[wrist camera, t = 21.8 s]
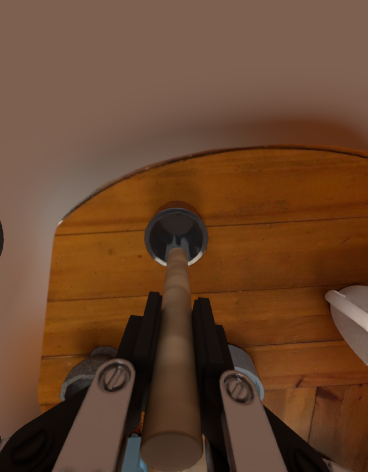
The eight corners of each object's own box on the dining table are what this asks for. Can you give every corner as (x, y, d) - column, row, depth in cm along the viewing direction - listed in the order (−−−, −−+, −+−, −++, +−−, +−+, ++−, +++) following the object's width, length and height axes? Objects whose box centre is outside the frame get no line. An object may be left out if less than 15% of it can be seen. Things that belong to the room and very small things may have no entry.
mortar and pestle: (70, 362, 38) (24, 443, 27) (96, 329, 36) (58, 402, 25) (121, 388, 40) (98, 473, 29) (148, 359, 38) (135, 437, 27)
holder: (149, 245, 32) (141, 264, 25) (154, 196, 30) (147, 203, 23) (197, 251, 32) (201, 272, 26) (205, 204, 30) (213, 212, 23)
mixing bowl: (176, 393, 41) (176, 422, 36) (187, 338, 37) (188, 362, 32) (244, 399, 42) (252, 428, 37) (261, 345, 38) (273, 370, 33)
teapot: (157, 430, 44) (152, 479, 37) (160, 448, 46) (156, 498, 39) (102, 434, 44) (87, 485, 37) (107, 452, 46) (94, 503, 39)
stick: (167, 263, 19) (137, 471, 6) (169, 246, 19) (141, 430, 5) (185, 265, 19) (198, 474, 6) (188, 248, 19) (208, 434, 5)
